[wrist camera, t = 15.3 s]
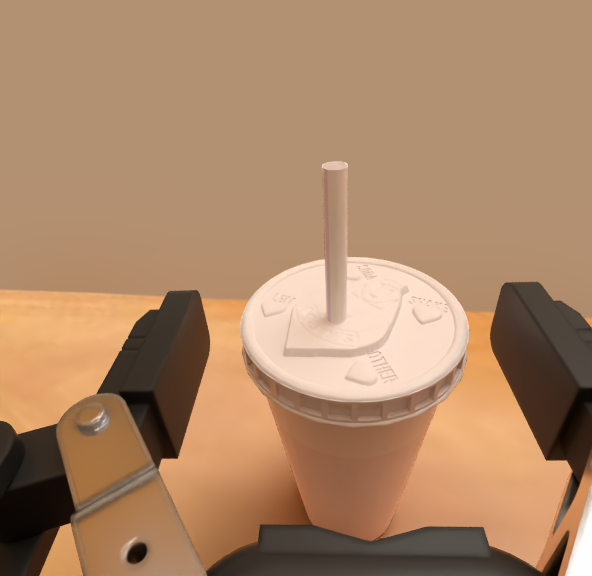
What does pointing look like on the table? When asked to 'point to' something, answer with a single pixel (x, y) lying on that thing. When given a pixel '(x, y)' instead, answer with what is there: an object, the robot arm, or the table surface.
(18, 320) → the table surface
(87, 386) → the table surface
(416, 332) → the smoothie
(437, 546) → the robot arm
